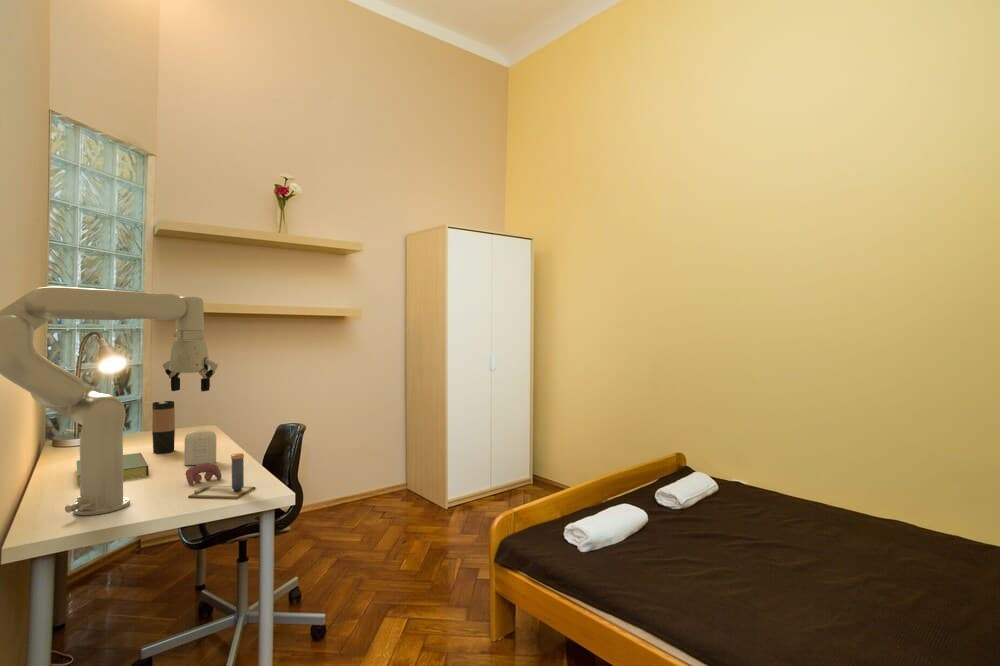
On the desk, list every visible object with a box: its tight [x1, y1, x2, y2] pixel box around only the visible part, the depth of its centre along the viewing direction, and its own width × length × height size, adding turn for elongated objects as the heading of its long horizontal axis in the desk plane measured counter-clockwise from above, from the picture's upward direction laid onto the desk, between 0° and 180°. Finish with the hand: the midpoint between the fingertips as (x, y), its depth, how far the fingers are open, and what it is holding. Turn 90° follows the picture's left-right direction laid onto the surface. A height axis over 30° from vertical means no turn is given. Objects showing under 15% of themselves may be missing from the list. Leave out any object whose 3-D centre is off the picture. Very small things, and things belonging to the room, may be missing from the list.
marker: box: [230, 452, 245, 492], centre depth 159 cm, size 3×3×11 cm
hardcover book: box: [76, 452, 149, 485], centre depth 181 cm, size 25×19×4 cm
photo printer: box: [183, 429, 217, 466], centre depth 192 cm, size 10×4×12 cm, turn 113°
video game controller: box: [185, 463, 222, 486], centre depth 171 cm, size 10×5×7 cm, turn 136°
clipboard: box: [187, 485, 256, 500], centre depth 158 cm, size 10×15×1 cm, turn 86°
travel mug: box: [151, 400, 176, 455], centre depth 211 cm, size 8×8×20 cm
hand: (190, 390), depth 164 cm, fingers open, 9 cm apart
